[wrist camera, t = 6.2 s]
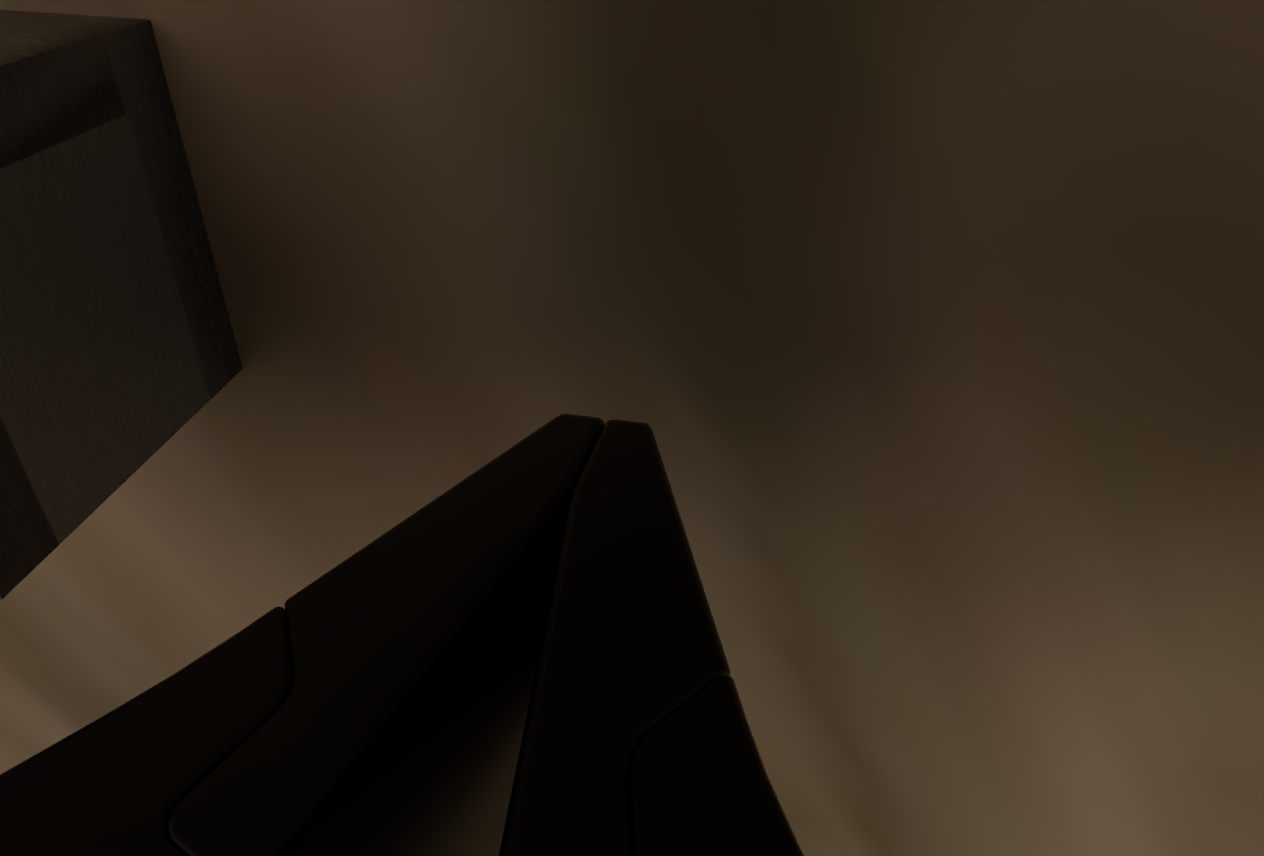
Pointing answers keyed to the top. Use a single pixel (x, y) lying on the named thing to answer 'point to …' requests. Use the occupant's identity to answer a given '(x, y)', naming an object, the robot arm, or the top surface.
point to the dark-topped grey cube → (94, 275)
